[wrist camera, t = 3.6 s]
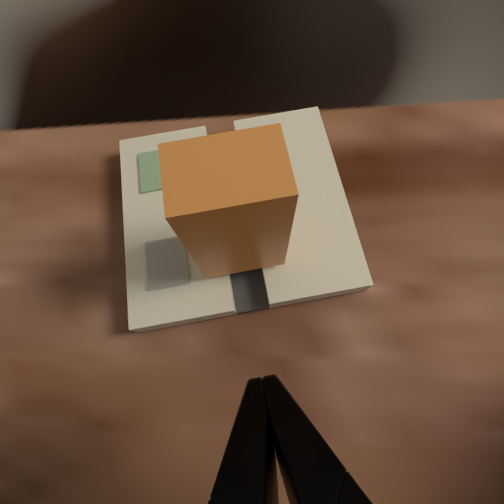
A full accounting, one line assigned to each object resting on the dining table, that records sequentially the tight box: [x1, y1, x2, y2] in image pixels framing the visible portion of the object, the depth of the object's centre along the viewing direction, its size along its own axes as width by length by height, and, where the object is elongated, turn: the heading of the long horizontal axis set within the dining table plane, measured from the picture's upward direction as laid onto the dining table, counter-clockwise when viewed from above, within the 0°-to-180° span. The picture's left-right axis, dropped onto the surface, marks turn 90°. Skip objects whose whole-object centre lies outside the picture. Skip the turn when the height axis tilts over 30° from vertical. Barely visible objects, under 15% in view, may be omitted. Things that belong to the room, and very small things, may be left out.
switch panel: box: [119, 107, 373, 332], centre depth 21 cm, size 13×14×2 cm
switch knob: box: [158, 123, 299, 278], centre depth 15 cm, size 3×4×9 cm, turn 100°
